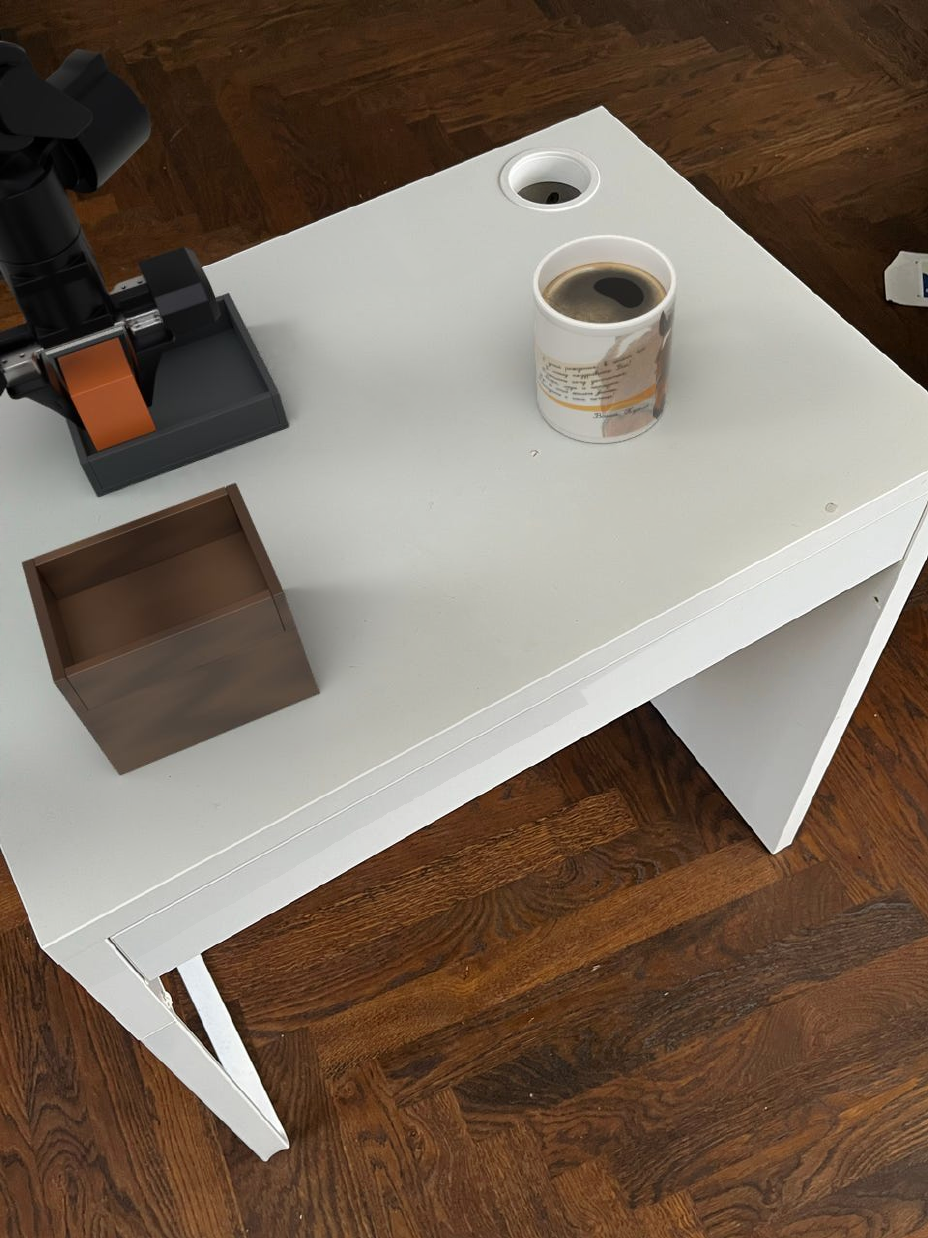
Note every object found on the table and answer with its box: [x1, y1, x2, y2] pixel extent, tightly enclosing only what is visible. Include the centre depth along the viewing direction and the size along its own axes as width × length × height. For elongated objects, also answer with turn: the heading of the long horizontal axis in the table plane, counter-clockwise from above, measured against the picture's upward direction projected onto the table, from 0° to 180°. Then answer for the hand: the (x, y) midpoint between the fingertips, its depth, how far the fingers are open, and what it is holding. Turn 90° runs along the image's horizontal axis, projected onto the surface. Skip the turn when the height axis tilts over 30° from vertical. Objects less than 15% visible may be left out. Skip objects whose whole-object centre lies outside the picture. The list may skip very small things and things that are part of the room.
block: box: [58, 338, 156, 451], centre depth 83 cm, size 4×4×6 cm
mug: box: [531, 234, 678, 444], centre depth 83 cm, size 10×12×11 cm
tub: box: [46, 292, 290, 498], centre depth 89 cm, size 15×13×4 cm
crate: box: [21, 482, 320, 776], centre depth 71 cm, size 13×9×11 cm
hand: (117, 414), depth 85 cm, fingers closed on block, 4 cm apart
